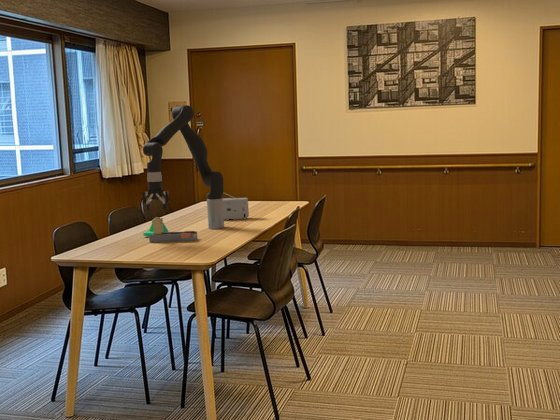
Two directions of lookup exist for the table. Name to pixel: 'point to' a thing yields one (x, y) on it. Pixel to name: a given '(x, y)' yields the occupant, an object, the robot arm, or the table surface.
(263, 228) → the table surface
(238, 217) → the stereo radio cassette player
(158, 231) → the tan upright block
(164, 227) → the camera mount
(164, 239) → the rail
